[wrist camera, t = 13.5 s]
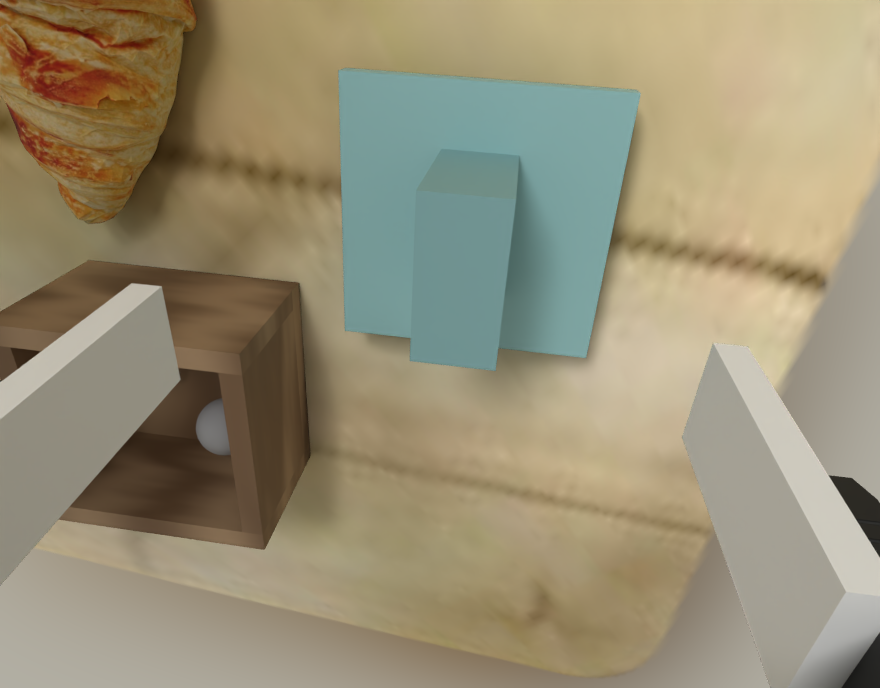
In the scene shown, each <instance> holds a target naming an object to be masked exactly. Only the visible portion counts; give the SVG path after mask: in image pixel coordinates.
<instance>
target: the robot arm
mask: <svg viewBox="0 0 880 688" xmlns="http://www.w3.org/2000/svg"><path fill="white" fill-rule="evenodd" d="M180 380H181V379H180V375H179V370H178V365H177V360H176V355H175V350H174V345H173V340H172V335H171V330H170V325H169V320H168V315H167V310H166V305H165V300H164V295H163V291H162V286H154V285H144V284H134V283H131V284H130V285H129V286H127V287H126V288H125V289H123V290H122V291H121V292H119V293H118V294H117V295H115V296H114V297H113V298H112V299H110V300H109V301H108V302H106V303H105V304H104V305H102V306H101V307H100V308H98V309H97V310H96V311H94V312H93V313H92V314H90V315H89V316H88V317H86V318H85V319H84V320H82V321H81V322H80V323H78V324H77V325H76V326H74V327H73V328H72V329H70V330H69V331H68V332H66V333H65V334H64V335H62V336H61V337H60V338H58V339H57V340H56V341H54V342H53V343H52V344H51V345H49V346H48V347H47V348H45V349H44V350H43V351H41V352H40V353H39V354H37V355H36V356H35V357H33V358H32V359H31V360H29V361H28V362H27V363H25V364H24V365H23V366H21V367H20V368H19V369H17V370H16V371H15V372H13V373H12V374H11V375H9V376H8V377H7V378H5V379H4V380H0V585H1V584H2V583H3V582H4V581H5V580H6V579H7V577H8V576H9V575H10V574H11V573H12V572H13V571H14V569H15V568H16V567H17V566H18V565H19V563H21V561H22V560H23V559H24V558H25V557H26V556H27V555H28V553H29V552H30V551H31V550H32V549H33V548H34V547H35V546H36V544H37V543H38V542H39V541H40V540H41V539H42V538H43V536H44V535H45V534H46V533H47V532H48V531H49V530H50V528H51V527H52V526H53V525H54V524H55V523H56V522H57V520H58V519H59V518H60V517H61V516H62V515H63V514H64V512H65V511H66V510H67V509H68V508H69V507H70V506H71V504H72V503H73V502H74V501H75V500H76V499H77V498H78V496H79V495H80V494H81V493H82V492H83V491H84V490H85V488H86V487H87V486H88V485H89V484H90V483H91V482H92V480H93V479H94V478H95V477H96V476H97V475H98V474H99V472H100V471H101V470H102V469H103V468H104V467H105V466H106V464H107V463H108V462H109V461H110V460H111V459H112V458H113V456H114V455H115V454H116V453H117V452H118V451H119V450H120V448H121V447H122V446H123V445H124V444H125V443H126V442H127V440H128V439H129V438H130V437H131V436H132V435H133V434H134V432H135V431H136V430H137V429H138V428H139V427H140V426H141V424H142V423H143V422H144V421H145V420H146V419H147V418H148V416H149V415H150V414H151V413H152V412H153V411H154V410H155V408H156V407H157V406H158V405H159V404H160V403H161V402H162V400H163V399H164V398H165V397H166V396H167V395H168V394H169V392H170V391H171V390H172V389H173V388H174V387H175V386H176V384H177V383H178V382H179V381H180ZM682 439H683V441H684V444H685V447H686V450H687V453H688V456H689V458H690V461H691V464H692V467H693V470H694V473H695V475H696V478H697V481H698V484H699V487H700V490H701V492H702V495H703V498H704V501H705V504H706V507H707V509H708V512H709V515H710V518H711V521H712V524H713V526H714V529H715V532H716V535H717V538H718V541H719V543H720V546H721V549H722V552H723V555H724V558H725V561H726V563H727V566H728V569H729V572H730V575H731V578H732V580H733V583H734V586H735V589H736V592H737V594H738V597H739V600H740V603H741V606H742V609H743V611H744V614H745V617H746V620H747V623H748V626H749V629H750V631H751V634H752V637H753V640H754V643H755V645H756V648H757V651H758V654H759V657H760V660H761V662H762V665H763V668H764V671H765V674H766V677H767V680H768V682H769V685H770V688H880V503H879V501H878V500H877V499H876V498H875V497H874V496H872V495H871V494H870V493H869V492H868V491H866V490H865V489H864V488H863V487H862V486H860V485H859V484H858V483H857V482H856V481H855V480H853V479H852V478H846V477H838V476H829V475H828V474H827V472H826V471H825V469H824V468H823V466H822V464H821V463H820V461H819V460H818V458H817V456H816V455H815V453H814V452H813V450H812V449H811V447H810V445H809V444H808V442H807V441H806V439H805V437H804V436H803V434H802V432H801V431H800V430H799V428H798V426H797V424H796V423H795V421H794V420H793V419H792V416H791V415H790V413H789V412H788V410H787V409H786V407H785V405H784V404H783V402H782V400H781V399H780V397H779V396H778V394H777V392H776V391H775V389H774V388H773V386H772V384H771V383H770V381H769V380H768V378H767V376H766V375H765V373H764V372H763V370H762V368H761V367H760V365H759V364H758V362H757V360H756V359H755V357H754V356H753V354H752V352H751V351H750V349H749V348H748V346H739V345H729V344H719V343H713V345H712V348H711V351H710V354H709V357H708V360H707V363H706V366H705V369H704V372H703V375H702V378H701V381H700V384H699V387H698V390H697V393H696V396H695V399H694V402H693V405H692V408H691V411H690V414H689V417H688V420H687V423H686V426H685V430H684V433H683V436H682Z"/></svg>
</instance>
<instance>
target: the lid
mask: <svg viewBox="0 0 880 688" xmlns="http://www.w3.org/2000/svg"><path fill="white" fill-rule="evenodd" d="M338 71H339V111H340V151H341V191H342V231H343V271H344V311H345V331H352V332H361V333H370V334H379V335H388V336H397V337H405V338H411V341H410V361H415V362H424V363H432V364H441V365H449V366H458V367H466V368H475V369H484V370H492V371H496V363H497V354H498V348H502V349H511V350H520V351H529V352H538V353H546V354H555V355H564V356H573V357H582V358H586V356H587V351H588V347H589V342H590V337H591V332H592V327H593V322H594V317H595V313H596V308H597V303H598V298H599V293H600V288H601V283H602V279H603V274H604V269H605V264H606V259H607V254H608V249H609V245H610V240H611V235H612V230H613V225H614V220H615V215H616V211H617V206H618V201H619V196H620V191H621V186H622V181H623V177H624V172H625V167H626V162H627V157H628V152H629V147H630V143H631V138H632V133H633V128H634V123H635V118H636V113H637V109H638V104H639V99H640V94H641V93H640V92H638V91H637V90H632V89H619V88H605V87H592V86H579V85H566V84H553V83H539V82H526V81H513V80H500V79H487V78H473V77H460V76H447V75H434V74H420V73H407V72H394V71H381V70H368V69H354V68H344V69H341V70H338Z"/></svg>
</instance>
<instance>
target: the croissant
mask: <svg viewBox="0 0 880 688" xmlns="http://www.w3.org/2000/svg"><path fill="white" fill-rule="evenodd" d="M196 21H197V18H196V15H195V13H194V9H193V6H192V3H191V0H0V95H1V97H2V98H3V99H4V101H5V102H6V104H7V107H8V109H9V112H10V114H11V116H12V119H13V121H14V123H15V126H16V129H17V131H18V134H19V137H20V140H21V142H22V144H23V145H24V147H25V149H26V150H27V151H28V152H29V153H30V154H31V155H32V156H33V158H34V159H35V160H36V161H37V162H38V164H39V165H40V166H41V167H42V168H43V169H44V170H45V171H46V172H47V173H49V174H50V175H51V176H52V177H53V178H55V179H56V180H57V181H58V187H59V191H60V194H61V196H62V197H63V199H64V201H65V202H66V204H67V206H68V207H69V208H70V210H71V211H72V212H73V214H74V215H75V216H76V218H77V219H80V220H84V221H85V222H86V223H88V224H93V223H102V222H105V221H107V220H109V219H111V218H113V217H114V216H115V215H116V214H117V213H118V212H119V211H120V210H121V209H122V208H124V206H125V203H126V202H127V200H128V199H129V197H130V196H131V194H132V192H133V188H134V186H135V184H136V182H137V180H138V178H139V176H140V175H141V173H142V171H143V170H144V168H145V167H146V166H147V165H148V164H149V162H150V160H151V159H152V157H153V155H154V153H155V151H156V148H157V145H158V141H159V137H160V135H161V134H162V133H163V131H164V129H165V128H166V124H167V119H168V116H169V113H170V110H171V108H172V106H173V103H174V99H175V96H176V85H177V77H178V72H179V68H180V63H181V56H182V48H183V32H187V31H192V30H193V29H194V28H195V25H196Z"/></svg>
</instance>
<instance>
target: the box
mask: <svg viewBox="0 0 880 688" xmlns="http://www.w3.org/2000/svg"><path fill="white" fill-rule="evenodd" d="M131 283H134V284H144V285H154V286H162V291H163V295H164V300H165V305H166V310H167V315H168V320H169V325H170V330H171V335H172V340H173V345H174V350H175V355H176V360H177V365H178V370H179V375H180V379H181V380H180V381H179V382H178V383H177V384H176V386H175V387H174V388H173V389H172V390H171V391H170V392H169V394H168V395H167V396H166V397H165V398H164V399H163V400H162V402H161V403H160V404H159V405H158V406H157V407H156V408H155V410H154V411H153V412H152V413H151V414H150V415H149V416H148V418H147V419H146V420H145V421H144V422H143V423H142V424H141V426H140V427H139V428H138V429H137V430H136V431H135V432H134V434H133V435H132V436H131V437H130V438H129V439H128V440H127V442H126V443H125V444H124V445H123V446H122V447H121V448H120V450H119V451H118V452H117V453H116V454H115V455H114V456H113V458H112V459H111V460H110V461H109V462H108V463H107V464H106V466H105V467H104V468H103V469H102V470H101V471H100V472H99V474H98V475H97V476H96V477H95V478H94V479H93V480H92V482H91V483H90V484H89V485H88V486H87V487H86V488H85V490H84V491H83V492H82V493H81V494H80V495H79V496H78V498H77V499H76V500H75V501H74V502H73V503H72V504H71V506H70V507H69V508H68V509H67V510H66V511H65V512H64V514H63V515H62V516H61V517H60V518H59V520H65V521H72V522H79V523H86V524H93V525H99V526H106V527H113V528H120V529H127V530H133V531H140V532H147V533H154V534H161V535H167V536H174V537H181V538H188V539H195V540H201V541H208V542H215V543H222V544H229V545H236V546H242V547H249V548H256V549H263V550H265V548H266V546H267V544H268V542H269V540H270V538H271V536H272V533H273V531H274V529H275V527H276V525H277V523H278V521H279V519H280V517H281V515H282V513H283V511H284V509H285V507H286V505H287V503H288V501H289V499H290V497H291V495H292V493H293V490H294V488H295V486H296V484H297V482H298V480H299V478H300V476H301V474H302V472H303V470H304V468H305V466H306V464H307V462H308V460H309V458H310V442H309V427H308V413H307V398H306V383H305V368H304V353H303V338H302V323H301V308H300V293H299V283H297V282H287V281H278V280H268V279H259V278H250V277H240V276H231V275H222V274H212V273H203V272H193V271H184V270H175V269H165V268H156V267H147V266H137V265H128V264H118V263H109V262H100V261H90V260H88V261H87V262H85V263H83V264H82V265H80V266H78V267H76V268H75V269H73V270H71V271H69V272H68V273H66V274H64V275H63V276H61V277H59V278H57V279H56V280H54V281H52V282H51V283H49V284H47V285H45V286H44V287H42V288H40V289H39V290H37V291H35V292H33V293H32V294H30V295H28V296H26V297H25V298H23V299H21V300H20V301H18V302H16V303H14V304H13V305H11V306H9V307H8V308H6V309H4V310H2V311H1V312H0V379H1V380H4V379H5V378H7V377H8V376H9V375H11V374H12V373H13V372H15V371H16V370H17V369H19V368H20V367H21V366H23V365H24V364H25V363H27V362H28V361H29V360H31V359H32V358H33V357H35V356H36V355H37V354H39V353H40V352H41V351H43V350H44V349H45V348H47V347H48V346H49V345H51V344H52V343H53V342H54V341H56V340H57V339H58V338H60V337H61V336H62V335H64V334H65V333H66V332H68V331H69V330H70V329H72V328H73V327H74V326H76V325H77V324H78V323H80V322H81V321H82V320H84V319H85V318H86V317H88V316H89V315H90V314H92V313H93V312H94V311H96V310H97V309H98V308H100V307H101V306H102V305H104V304H105V303H106V302H108V301H109V300H110V299H112V298H113V297H114V296H115V295H117V294H118V293H119V292H121V291H122V290H123V289H125V288H126V287H127V286H129V285H130V284H131ZM220 398H222V401H223V408H224V414H225V421H226V427H227V434H228V441H229V447H230V454H231V455H226V456H224V455H217V454H214V453H212V452H210V451H208V450H207V449H205V448H204V447H203V446H202V444H201V443H200V441H199V439H198V437H197V433H196V422H197V419H198V416H199V414H200V413H201V411H202V410H203V408H204V407H205V406H206V405H208V404H209V403H211V402H212V401H214V400H217V399H220Z"/></svg>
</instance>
